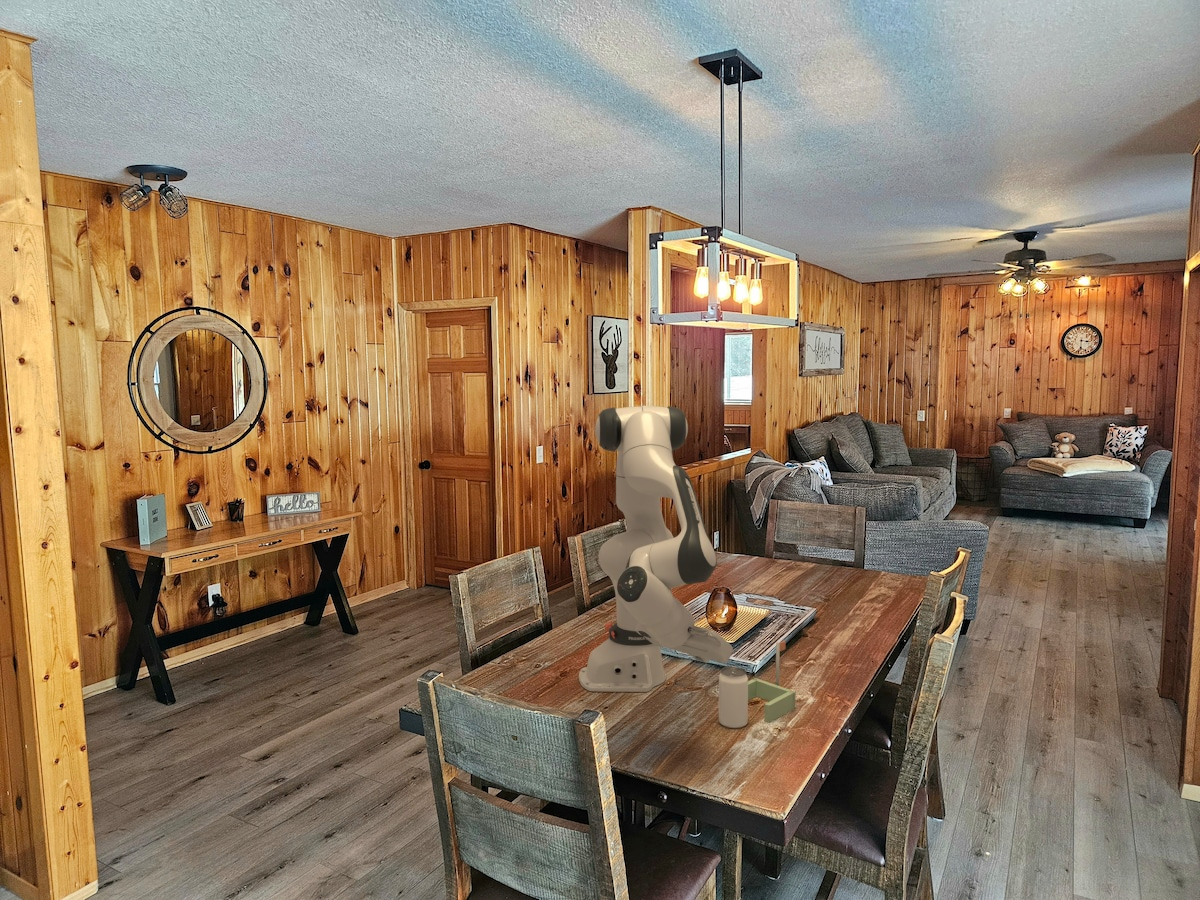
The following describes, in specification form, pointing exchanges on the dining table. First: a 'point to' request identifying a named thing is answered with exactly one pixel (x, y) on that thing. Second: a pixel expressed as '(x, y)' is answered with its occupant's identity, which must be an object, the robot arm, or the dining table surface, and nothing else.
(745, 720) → the can
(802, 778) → the dining table surface
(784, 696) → the olive frame
